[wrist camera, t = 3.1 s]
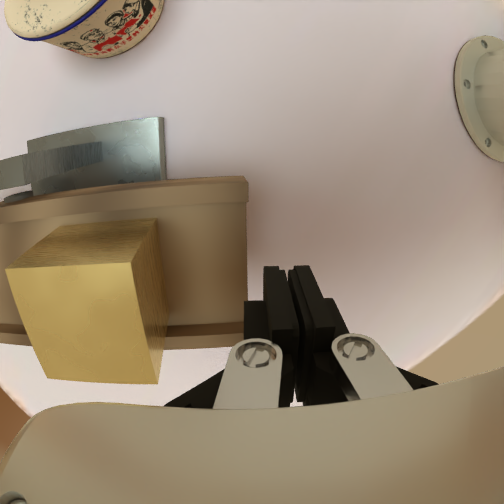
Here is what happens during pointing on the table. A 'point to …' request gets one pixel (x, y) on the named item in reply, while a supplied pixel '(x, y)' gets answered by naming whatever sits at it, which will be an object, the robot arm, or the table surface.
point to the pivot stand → (90, 158)
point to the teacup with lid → (84, 23)
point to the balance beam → (171, 246)
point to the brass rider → (95, 301)
